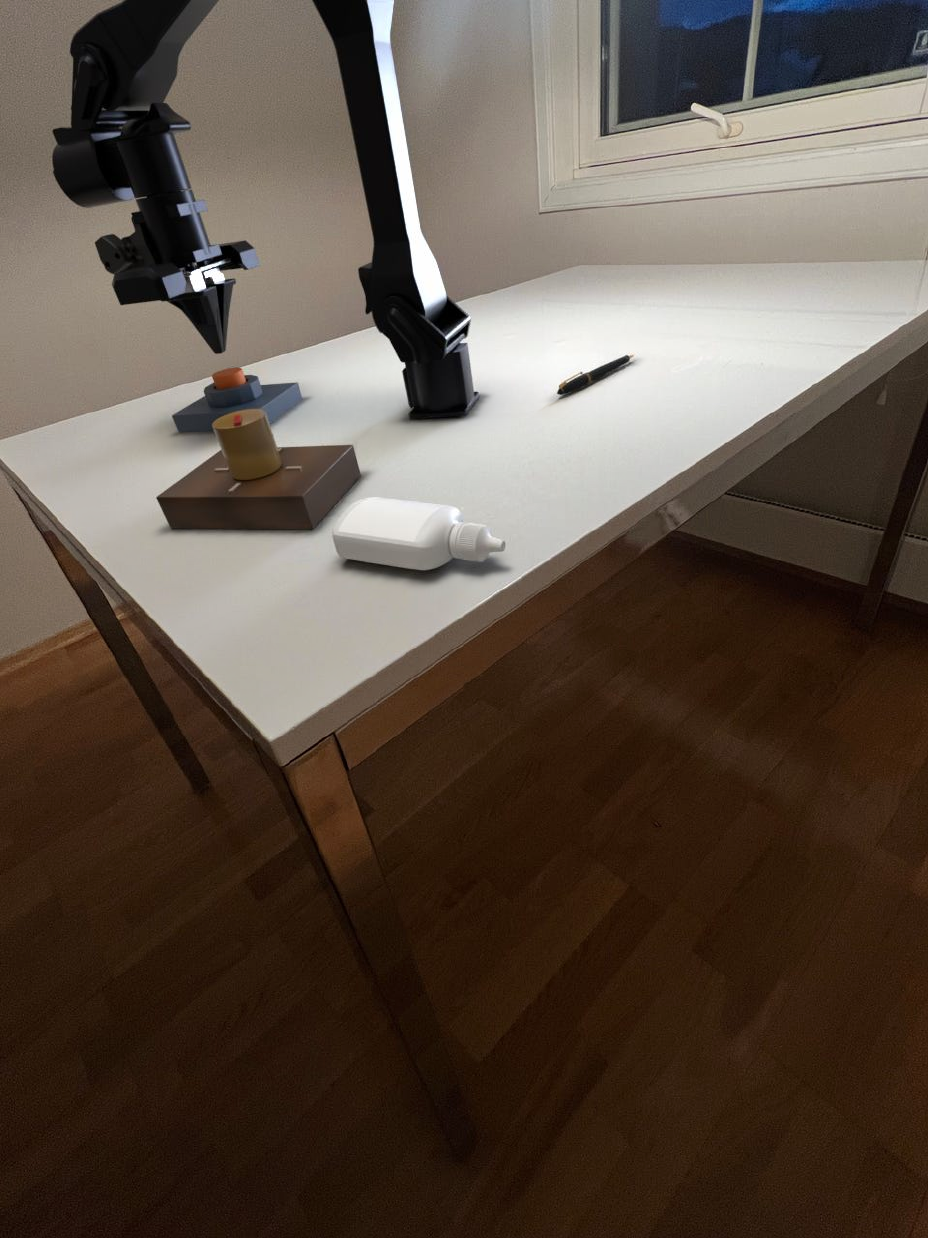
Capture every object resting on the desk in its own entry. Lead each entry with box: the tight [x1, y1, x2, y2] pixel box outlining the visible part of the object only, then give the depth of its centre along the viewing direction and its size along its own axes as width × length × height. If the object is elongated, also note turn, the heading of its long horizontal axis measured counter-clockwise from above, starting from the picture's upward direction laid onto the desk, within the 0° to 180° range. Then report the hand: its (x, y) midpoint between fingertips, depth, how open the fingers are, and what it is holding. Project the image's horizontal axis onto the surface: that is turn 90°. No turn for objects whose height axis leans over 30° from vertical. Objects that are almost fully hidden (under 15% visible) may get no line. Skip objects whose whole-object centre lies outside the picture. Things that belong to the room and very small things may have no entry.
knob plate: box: [155, 444, 362, 530], centre depth 55 cm, size 14×10×3 cm
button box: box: [171, 374, 303, 434], centre depth 77 cm, size 12×10×4 cm
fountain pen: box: [556, 353, 636, 396], centre depth 70 cm, size 14×1×2 cm, turn 134°
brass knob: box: [212, 409, 282, 480], centre depth 53 cm, size 4×4×5 cm
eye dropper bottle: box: [331, 496, 506, 571], centre depth 43 cm, size 4×6×12 cm
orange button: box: [211, 367, 246, 390], centre depth 76 cm, size 4×4×2 cm
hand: (220, 352), depth 74 cm, fingers closed
